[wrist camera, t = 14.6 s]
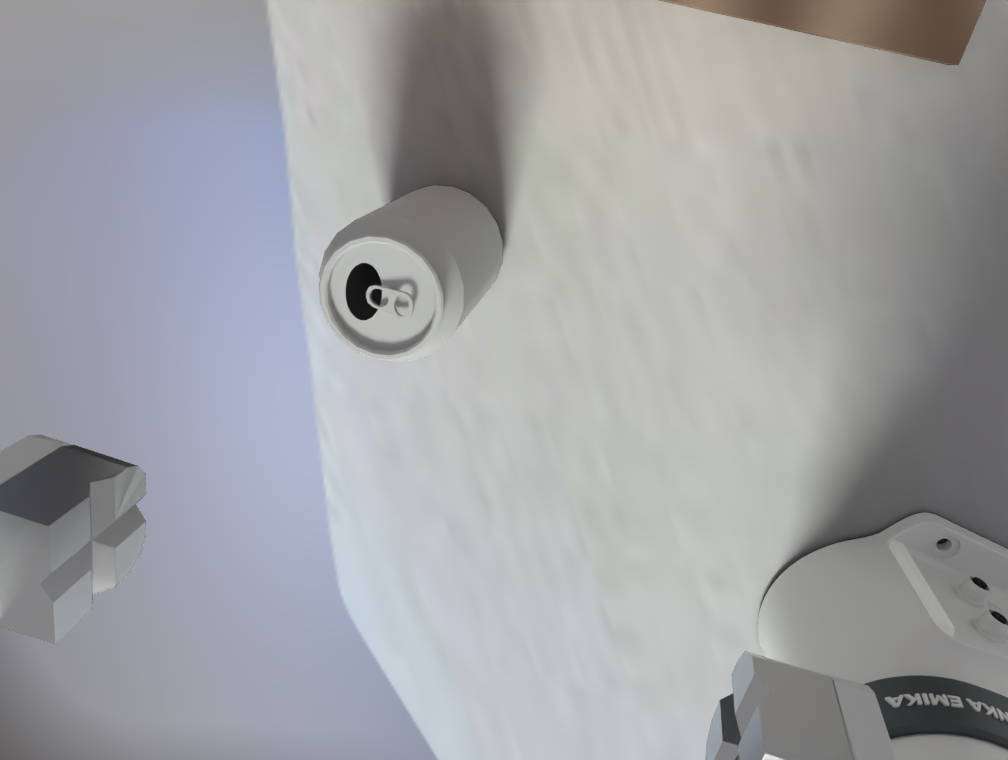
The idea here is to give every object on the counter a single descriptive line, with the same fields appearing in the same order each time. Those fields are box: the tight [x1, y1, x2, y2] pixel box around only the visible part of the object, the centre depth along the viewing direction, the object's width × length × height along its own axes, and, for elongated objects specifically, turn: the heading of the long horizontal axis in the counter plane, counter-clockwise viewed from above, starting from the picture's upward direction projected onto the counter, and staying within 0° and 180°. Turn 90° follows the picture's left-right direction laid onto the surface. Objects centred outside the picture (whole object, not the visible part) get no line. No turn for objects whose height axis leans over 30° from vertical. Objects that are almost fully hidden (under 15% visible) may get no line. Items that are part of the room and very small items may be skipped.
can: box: [319, 185, 503, 362], centre depth 42 cm, size 8×8×12 cm
